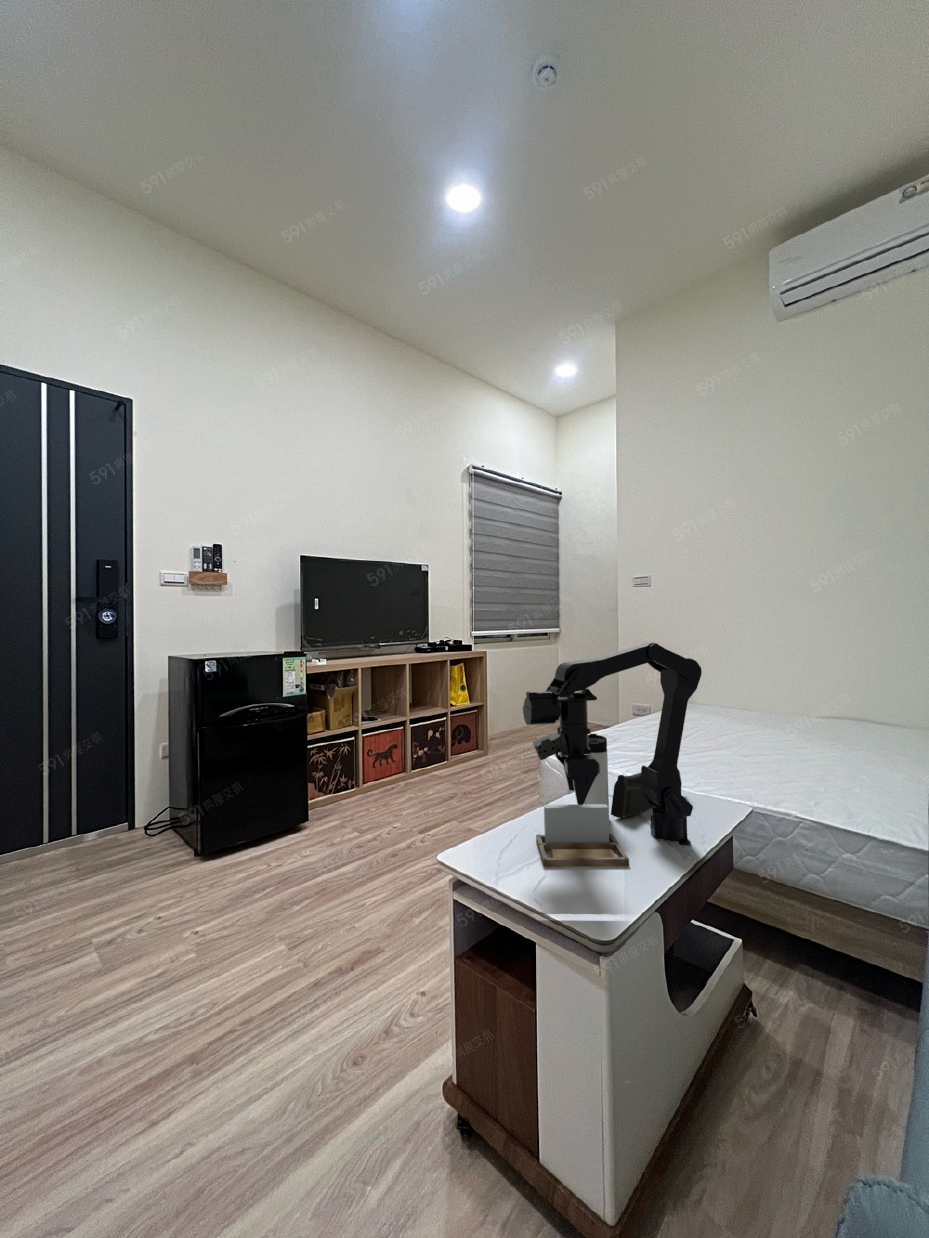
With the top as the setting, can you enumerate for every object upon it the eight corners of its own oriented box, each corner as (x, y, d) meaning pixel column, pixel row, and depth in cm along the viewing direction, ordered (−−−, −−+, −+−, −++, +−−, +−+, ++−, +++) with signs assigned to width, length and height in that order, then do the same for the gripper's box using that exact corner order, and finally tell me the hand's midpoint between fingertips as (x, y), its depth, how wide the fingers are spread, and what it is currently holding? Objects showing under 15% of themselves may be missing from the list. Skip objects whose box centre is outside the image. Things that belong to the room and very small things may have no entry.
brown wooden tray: (612, 843, 109) (612, 833, 109) (629, 869, 97) (629, 859, 97) (536, 844, 109) (536, 834, 109) (543, 870, 97) (543, 859, 97)
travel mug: (608, 815, 125) (606, 733, 126) (609, 825, 118) (607, 739, 119) (582, 814, 126) (580, 733, 127) (582, 823, 120) (580, 738, 121)
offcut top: (611, 853, 102) (611, 849, 102) (616, 862, 98) (616, 858, 98) (551, 853, 103) (551, 849, 103) (553, 862, 99) (553, 858, 99)
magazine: (616, 787, 118) (673, 731, 138) (603, 784, 121) (661, 730, 140) (629, 852, 121) (683, 788, 141) (617, 848, 124) (672, 786, 143)
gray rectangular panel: (606, 847, 107) (605, 804, 107) (609, 851, 105) (608, 807, 105) (544, 847, 108) (543, 804, 108) (546, 851, 106) (545, 808, 106)
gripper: (530, 715, 117) (532, 784, 116) (540, 731, 98) (543, 813, 98) (579, 714, 116) (581, 783, 116) (599, 730, 98) (601, 812, 97)
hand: (575, 797), depth 107 cm, fingers open, 9 cm apart
